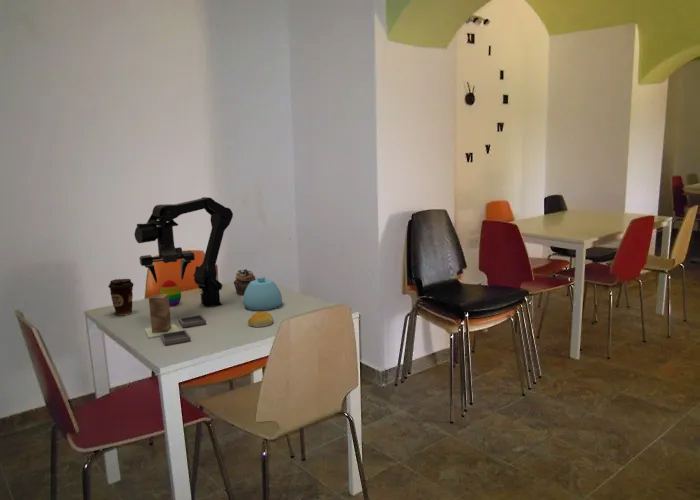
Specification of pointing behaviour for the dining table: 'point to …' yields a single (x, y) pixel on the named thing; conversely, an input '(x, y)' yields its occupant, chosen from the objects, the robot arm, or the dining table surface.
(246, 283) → the cupcake
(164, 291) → the decorative egg
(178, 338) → the tray
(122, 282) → the coffee cup
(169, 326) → the walnut block
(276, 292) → the sugar bowl
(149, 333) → the pad
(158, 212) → the robot arm
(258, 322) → the bread roll
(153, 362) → the dining table surface
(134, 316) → the dining table surface
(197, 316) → the tray
